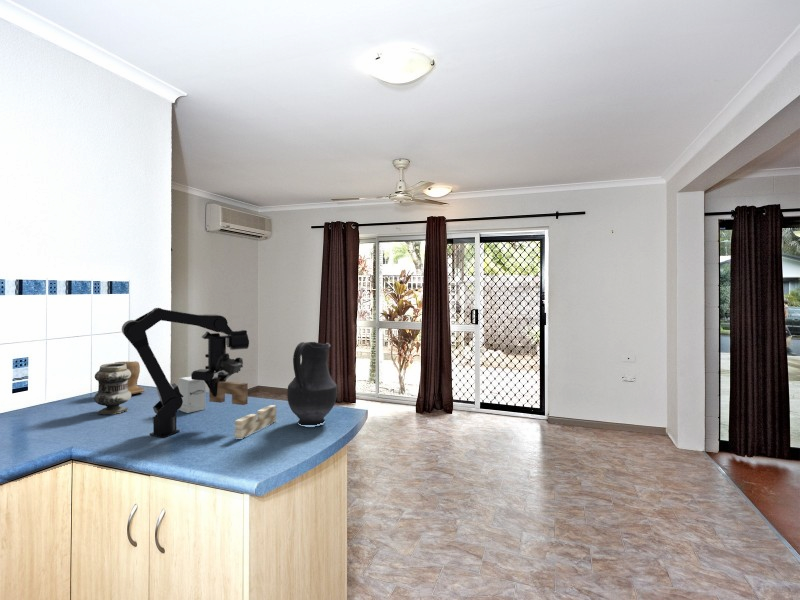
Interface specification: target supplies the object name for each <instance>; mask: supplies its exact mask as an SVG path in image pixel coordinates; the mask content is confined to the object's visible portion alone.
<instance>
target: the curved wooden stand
mask: <svg viewBox="0 0 800 600" xmlns="http://www.w3.org/2000/svg"><path fill="white" fill-rule="evenodd" d="M114 363H124V364H126V367H127V369H128V370H130V372H131V376H130V378H128V391H130V393H131V396H132V395H135V394H139V393H143V392H145V391H146V389H145V388H144V387H140V386H138V381H139V377H140V373H141V367H140V362H139V361H136V360H134V361H116V362H114Z"/></svg>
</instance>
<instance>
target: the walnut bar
mask: <svg viewBox="0 0 800 600" xmlns="http://www.w3.org/2000/svg"><path fill="white" fill-rule="evenodd" d="M248 385H249V384H248V383H247V382H235V381H227V380H226V381H218V385H217V396H216V397H214V396H213V395H212V393H211V391H210V389H209V388H208V389H209V391H208V392H209V393H208V394H209V402H210V403H211V402H212V403H219V404H220V403H221V404H222V403H224V402H226V394H227V395H231V404H232V405H237V406H238V405H240V406H246V405H247V404H249V403H248V401H249V400H248V399H249V397H248V396H249V395H248V389H249V388H248Z"/></svg>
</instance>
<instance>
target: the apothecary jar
mask: <svg viewBox="0 0 800 600" xmlns="http://www.w3.org/2000/svg"><path fill="white" fill-rule="evenodd" d="M130 376H131V372H130V370H128V369H127V367H126V364H124V363H115V362H112V363H111V362H110V363H104V364H100V365H99V370H98V371H96V372H95V374H94V379H95V381H97V382H98V390H97V393H96V394H95V395H94V397H93V401H94V402H95V403H96V404H98V405H100V406H105V407H103V408H102V409H99V410H98V411H97V414H98V415H100V414H114V415H117V414H116V413H120V414H122V413H121V412H123V411H126V412H128V411H127V410H129V408H128V407H125V406H123V404H126V402H128V401H129V400H131V398H132V395H131V393H130V391H128V378H130ZM123 413H124V412H123Z"/></svg>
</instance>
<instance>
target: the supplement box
mask: <svg viewBox="0 0 800 600" xmlns="http://www.w3.org/2000/svg"><path fill="white" fill-rule="evenodd" d="M206 386H207V384H206V383H205V381H204V380H193V379H191V376H185V377H179V378H178V388H179V391H180V393H181V394H182V395H183V396H184V397H181V398H182V400H183V403H182V406H181V407H180V409H178V411H181V412H183V413H187V414H189V413H193V412H194V413H195V412H199V411H203V410H206V403H207V402H206V396H207V395H206Z"/></svg>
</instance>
